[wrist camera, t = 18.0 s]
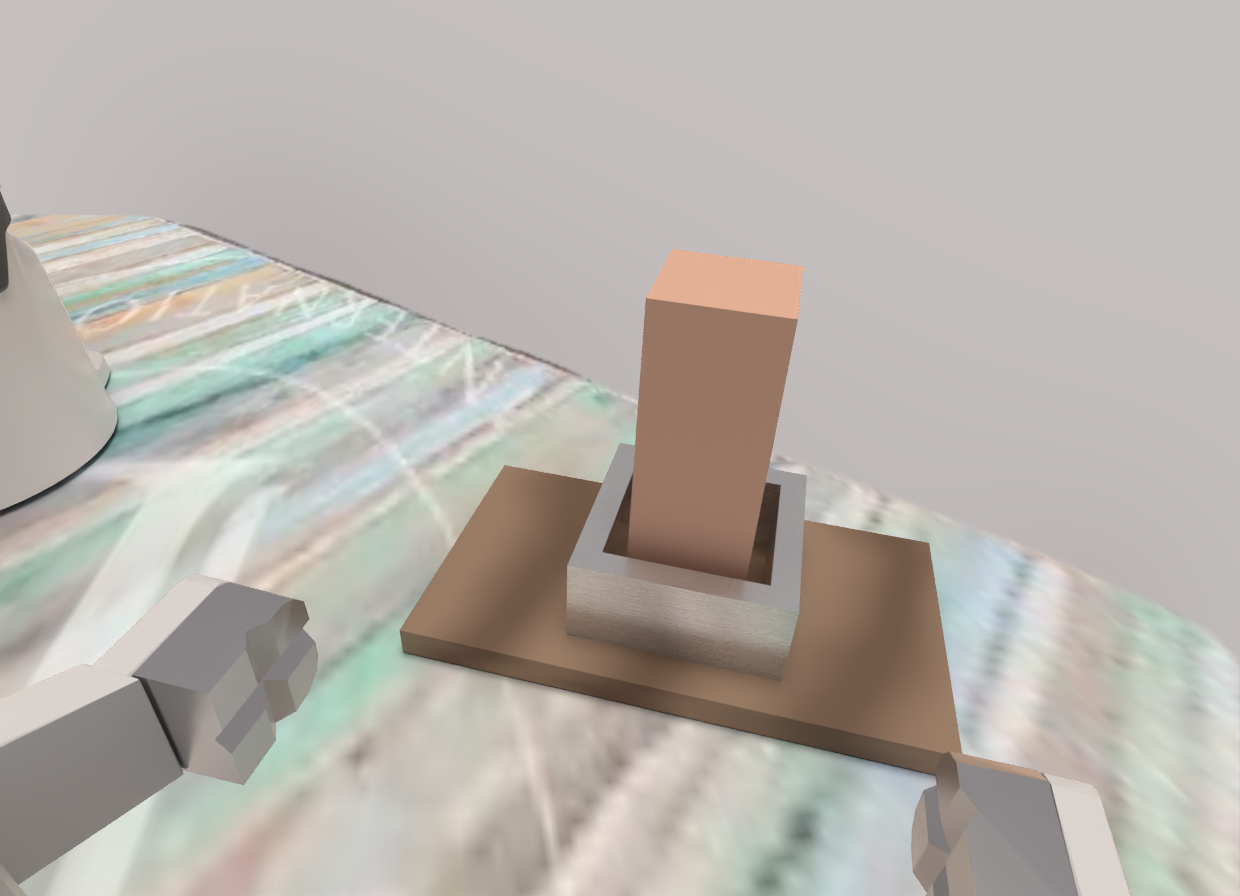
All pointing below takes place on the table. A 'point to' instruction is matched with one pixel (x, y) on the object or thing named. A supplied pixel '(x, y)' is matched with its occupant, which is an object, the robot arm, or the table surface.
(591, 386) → the table surface
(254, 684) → the robot arm
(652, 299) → the tall rectangular block
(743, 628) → the square metal frame
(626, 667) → the holder base
